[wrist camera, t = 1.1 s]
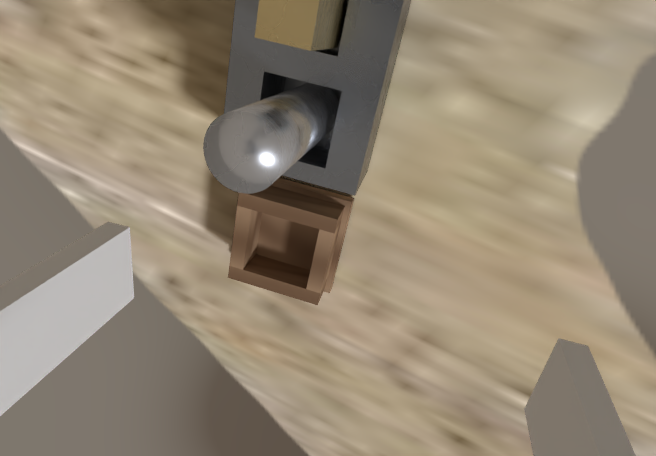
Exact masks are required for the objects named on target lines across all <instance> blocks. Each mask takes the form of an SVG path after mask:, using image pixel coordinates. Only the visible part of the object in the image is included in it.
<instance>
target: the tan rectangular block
mask: <svg viewBox="0 0 656 456" xmlns="http://www.w3.org/2000/svg"><path fill="white" fill-rule="evenodd" d="M347 1H348V0H259V5H258V13H257V22H256V30H255V38H259V39H263V40H267V41H272V42H276V43H280V44H284V45H288V46H292V47H297V48H301V49H305V50H309V51H314V50H322V49H330V48H338V46H339V41H340V36H341V31H342V26H343V21H344V16H345V11H346V6H347Z"/></svg>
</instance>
